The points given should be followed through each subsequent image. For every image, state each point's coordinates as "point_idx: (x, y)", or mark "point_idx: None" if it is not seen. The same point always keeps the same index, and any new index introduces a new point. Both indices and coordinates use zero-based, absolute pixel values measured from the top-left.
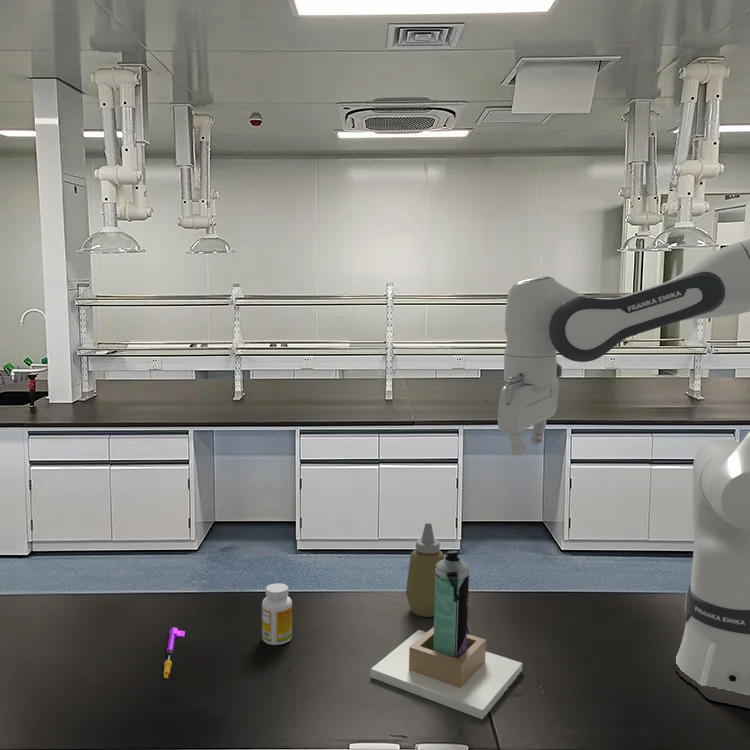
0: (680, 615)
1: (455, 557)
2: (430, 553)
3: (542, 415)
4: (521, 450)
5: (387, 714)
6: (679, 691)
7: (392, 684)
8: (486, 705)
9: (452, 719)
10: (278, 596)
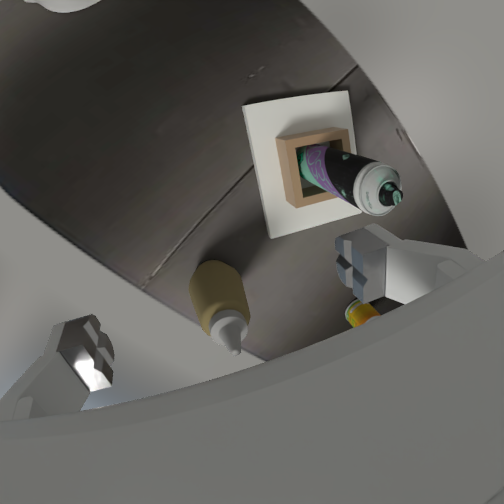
0: None
1: (395, 187)
2: (237, 311)
3: (126, 446)
4: (384, 230)
5: (386, 159)
6: None
7: None
8: (339, 91)
9: (359, 112)
10: None
